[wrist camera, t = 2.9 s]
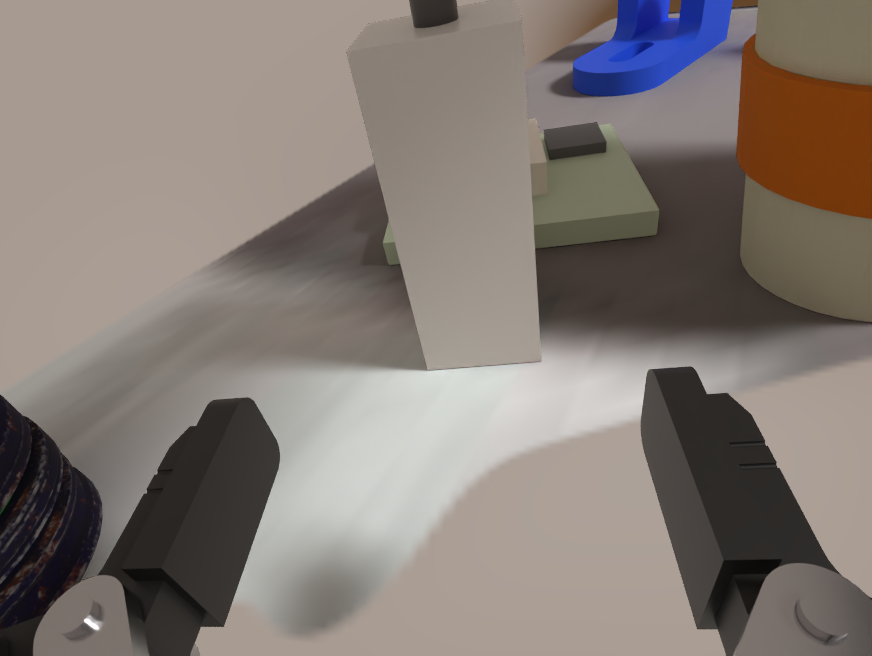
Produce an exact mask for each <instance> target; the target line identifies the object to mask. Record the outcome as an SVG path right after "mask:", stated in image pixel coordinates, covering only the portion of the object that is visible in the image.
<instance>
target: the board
mask: <svg viewBox="0 0 872 656" xmlns="http://www.w3.org/2000/svg"><path fill="white" fill-rule="evenodd" d="M528 134H529V152H530V170H531V187H532V205H533V223H534V241H535V249H537V248H546V247H555V246H563V245H572V244H581V243H590V242H599V241H608V240H617V239H626V238H634V237H643V236H652V235H657V228H658V219H659V211H660V210H659V208H658V206H657V205H656V203H655V201H654V199H653V198H652V196H651V194H650V192H649V190H648V189H647V187H646V185H645V183H644V182H643V180H642V178H641V176H640V175H639V173H638V171H637V169H636V167H635V166H634V164H633V162H632V160H631V159H630V157H629V155H628V153H627V151H626V150H625V148H624V146H623V144H622V143H621V141H620V139H619V137H618V136H617V134H616V132H615V130H614V128H613V127H612V125H611V124H605V125H598V124H597V122H594V123H588V124H581V125H574V126H567V127H560V128H554V129H547V130H544V134H540V133H539V129H538V125H537V121H536V118H535V119H528ZM383 247H384V250H385V254H386V258H387V261H388V265H395V264H400V260H399V256H398V253H397V249H396V245H395V241H394V237H393V233H392V229H391V225H390V221H388V225H387V229H386V232H385V236H384V240H383Z"/></svg>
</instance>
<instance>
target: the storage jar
mask: <svg viewBox="0 0 872 656" xmlns="http://www.w3.org/2000/svg"><path fill="white" fill-rule="evenodd" d="M101 524H102V503H101V499H100V496H99V493H98V491H97V489H96V488H95V486H94V485H93V483H92V482H91V481H90V480H89V479H88V478H87V477H86V476H85V475H84V474H82V473H81V472H80V471H79V470H77V469H76V468H74V467H72V465H71V464H70V462H69V461H68V459H67V458H66V457H65V456H64V455H63V454H62V453H61V452H60V450H59V448H58V447H57V445H56V443H55V442H54V441H53V440H52V439H51V438H50V437H49V436H48V435H47V434H46V433H45V432H44V431H43V430H42V429H41V428H40V427H39V426H38V425H37V424H36V423H34V422H33V421H32V420H30V419H29V418H27V417H25V416H22V415H21V414H20V413H19V412H18V411H17V410H16V409H15V408H14V407H13V406H12V405H11V404H10V403H9V402H8V401H7V400H6V399H5V398H4V397H3V396H1V395H0V630H2V629H5V628H8V627H10V626H13V625H16V624H19V623H22V622H25V621H27V620H30V619H33V618H36V617H39V616H41V615H44V614H46V613H47V611H48V610H49V608H50V607H51V606H52V605H53V604H54V603H55V601H56V600H57V599H58V598H60V597H61V596H62V595H63V594H64V593H65V592H66V591H68V590H69V589H70V588H72V587H73V586H75V585H76V584H78V583H79V581H80V580H81V578H82V576H83V575H84V573H85V571H86V569H87V566H88V564H89V562H90V560H91V558H92V556H93V554H94V551H95V548H96V545H97V542H98V538H99V535H100V530H101Z"/></svg>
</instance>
